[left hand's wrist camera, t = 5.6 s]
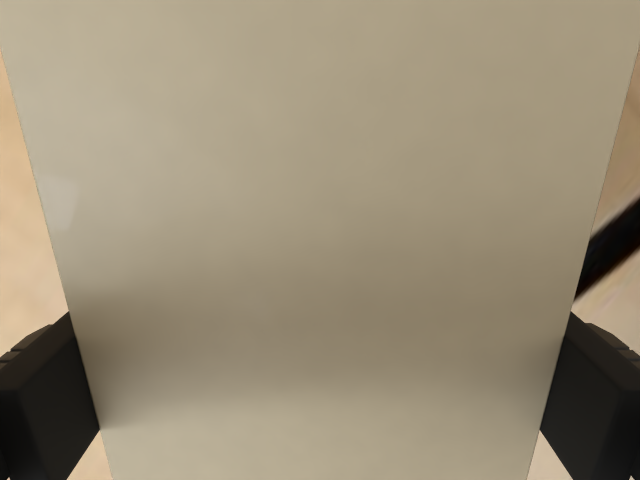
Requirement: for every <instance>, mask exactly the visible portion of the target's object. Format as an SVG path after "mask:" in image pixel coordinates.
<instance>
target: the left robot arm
mask: <svg viewBox="0 0 640 480" xmlns="http://www.w3.org/2000/svg"><path fill="white" fill-rule="evenodd" d="M99 430H100V428H99V424H98V420H97V417H96V413H95V409H94V405H93V401H92V397H91V394H90V390H89V386H88V382H87V378H86V374H85V371H84V367H83V363H82V359H81V355H80V351H79V348H78V344H77V340H76V336H75V332H74V328H73V325H72V321H71V317H70V313H69V311H68V312H67V313H66V314H65V315H64V316H63V317H61V318H60V319H59V320H58V321H57V322H55V323H54V324H53V325H47V326H45V327H43V328H41V329H39V330H37V331H35V332H33V333H32V334H30V335H28V336H26V337H25V338H24V339H23V340H21V341H20V342H19V343H18V344H16V345H15V346H14V347H13V348H11V351H10V352H6V353H5V354H4V355H3V356H2V357H0V480H7V479H8V478H10V480H67V478H68V477H69V475H70V474H71V472H72V471H73V469H74V468H75V466H76V465H77V463H78V462H79V460H80V459H81V457H82V456H83V454H84V453H85V451H86V450H87V448H88V447H89V445H90V444H91V442H92V441H93V439H94V438H95V436H96V435H97V433H98V432H99ZM540 431H541V432H542V434H543V435H544V437H545V438H546V440H547V441H548V443H549V444H550V446H551V447H552V449H553V450H554V452H555V453H556V455H557V456H558V458H559V459H560V461H561V462H562V464H563V465H564V467H565V468H566V470H567V471H568V473H569V474H570V476H571V477H572V479H573V480H629V479H630V476H632V477H633V478H634V479H635V480H640V356H639V355H638V354H637V353H635V352H634V351H633V350H629V347H628V346H627V345H625V344H624V343H623V342H622V341H620V340H619V339H618V338H617V337H615V336H614V335H613V334H611V333H609V332H607V331H605V330H603V329H601V328H599V327H598V326H596V325H594V324H592V323H584V322H583V321H582V320H581V319H579V318H578V317H577V316H576V315H575V314H573V313H572V312H571V311H570V315H569V319H568V323H567V327H566V330H565V334H564V338H563V342H562V346H561V350H560V353H559V357H558V361H557V365H556V369H555V373H554V376H553V380H552V384H551V388H550V392H549V396H548V399H547V403H546V407H545V411H544V415H543V419H542V422H541V426H540Z"/></svg>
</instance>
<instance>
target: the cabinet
mask: <svg viewBox="0 0 640 480" xmlns="http://www.w3.org/2000/svg"><path fill="white" fill-rule="evenodd" d="M639 47H640V0H0V49H1V52H2V56H3V60H4V64H5V68H6V72H7V75H8V79H9V83H10V87H11V91H12V95H13V98H14V102H15V106H16V110H17V114H18V118H19V121H20V125H21V129H22V133H23V137H24V141H25V144H26V148H27V152H28V156H29V160H30V164H31V167H32V171H33V175H34V179H35V183H36V187H37V190H38V194H39V198H40V202H41V206H42V210H43V213H44V217H45V221H46V225H47V229H48V233H49V236H50V240H51V244H52V248H53V252H54V256H55V259H56V263H57V267H58V271H59V275H60V279H61V282H62V286H63V290H64V294H65V298H66V302H67V305H68V309H69V313H70V317H71V321H72V325H73V328H74V332H75V336H76V340H77V344H78V348H79V351H80V355H81V359H82V363H83V367H84V371H85V374H86V378H87V382H88V386H89V390H90V394H91V397H92V401H93V405H94V409H95V413H96V417H97V420H98V424H99V428H100V432H101V436H102V440H103V443H104V447H105V451H106V455H107V459H108V463H109V466H110V470H111V474H112V478H113V480H527V476H528V472H529V468H530V465H531V461H532V457H533V453H534V449H535V445H536V442H537V438H538V434H539V430H540V426H541V422H542V419H543V415H544V411H545V407H546V403H547V399H548V396H549V392H550V388H551V384H552V380H553V376H554V373H555V369H556V365H557V361H558V357H559V353H560V350H561V346H562V342H563V338H564V334H565V330H566V327H567V323H568V319H569V315H570V311H571V307H572V304H573V300H574V296H575V292H576V288H577V284H578V281H579V277H580V273H581V269H582V265H583V261H584V258H585V254H586V250H587V246H588V242H589V238H590V235H591V231H592V227H593V223H594V219H595V215H596V212H597V208H598V204H599V200H600V196H601V192H602V189H603V185H604V181H605V177H606V173H607V169H608V166H609V162H610V158H611V154H612V150H613V146H614V143H615V139H616V135H617V131H618V127H619V123H620V120H621V116H622V112H623V108H624V104H625V100H626V97H627V93H628V89H629V85H630V81H631V77H632V74H633V70H634V66H635V62H636V58H637V54H638V51H639Z"/></svg>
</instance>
